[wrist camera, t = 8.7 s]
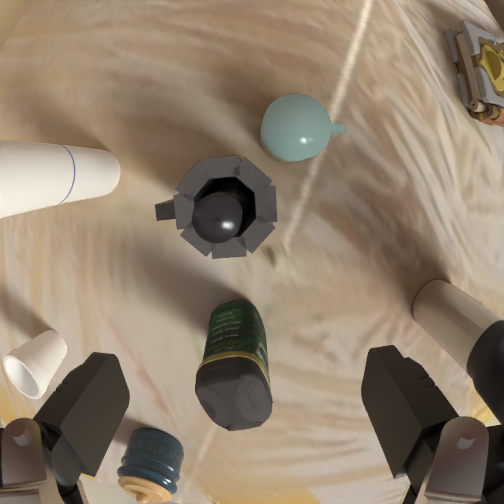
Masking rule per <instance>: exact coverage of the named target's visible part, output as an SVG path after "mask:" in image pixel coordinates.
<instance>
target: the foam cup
mask: <svg viewBox="0 0 504 504" xmlns="http://www.w3.org/2000/svg"><path fill="white" fill-rule="evenodd" d="M66 352H67V347H66V343H65V342H64V340H63V338H62V337H61V336H60V335H59V334H58V333H57V332H55V331H53V330H47V331H45V332H43V333H41V334H40V335H38V336H36V337H35V338H33V339H32V340H30V341H28V342H27V343H25V344H23V345H22V346H20V347H19V348H17V349H14V350H12V351H11V352H10V353H9V354H8V355H7V356H5V357H4V360H3V366H4V368H5V371H6V374H7V376H8V377H9V379H10V380H11V382H12V383H13V384H14V385H15V387H16V388H17V389H18V390H19V391H20V392H22V393H23V394H24V395H26V396H27V397H29V398H32V399H38V398H41V396H42V395H43V394H44V393H45V391H46V390H47V386H48V384H49V382H50V381H51V379H52V377H53V375H54V374H55V372H56V370H57V368H58V367H59V365H60V363H61V362H62V360H63V358H64V357H65V355H66Z"/></svg>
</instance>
